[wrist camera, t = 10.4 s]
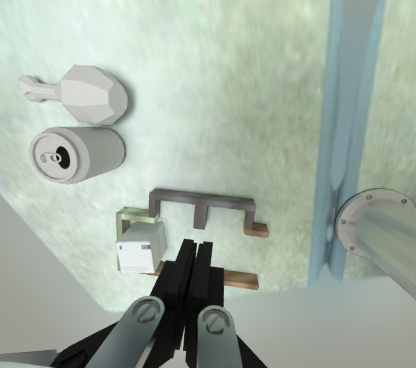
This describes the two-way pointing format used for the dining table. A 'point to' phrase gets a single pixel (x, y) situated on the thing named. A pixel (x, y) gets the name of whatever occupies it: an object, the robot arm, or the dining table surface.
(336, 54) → the dining table surface
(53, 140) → the can
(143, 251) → the skincare box
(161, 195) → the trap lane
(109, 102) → the chicken leg
